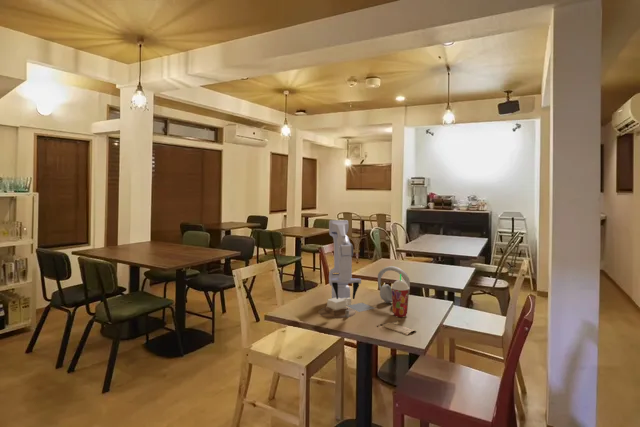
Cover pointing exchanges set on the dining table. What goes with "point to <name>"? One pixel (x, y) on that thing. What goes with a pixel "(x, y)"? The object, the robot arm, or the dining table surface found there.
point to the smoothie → (400, 298)
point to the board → (360, 307)
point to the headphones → (386, 289)
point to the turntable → (336, 312)
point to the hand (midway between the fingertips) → (345, 298)
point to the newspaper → (397, 328)
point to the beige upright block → (338, 303)
